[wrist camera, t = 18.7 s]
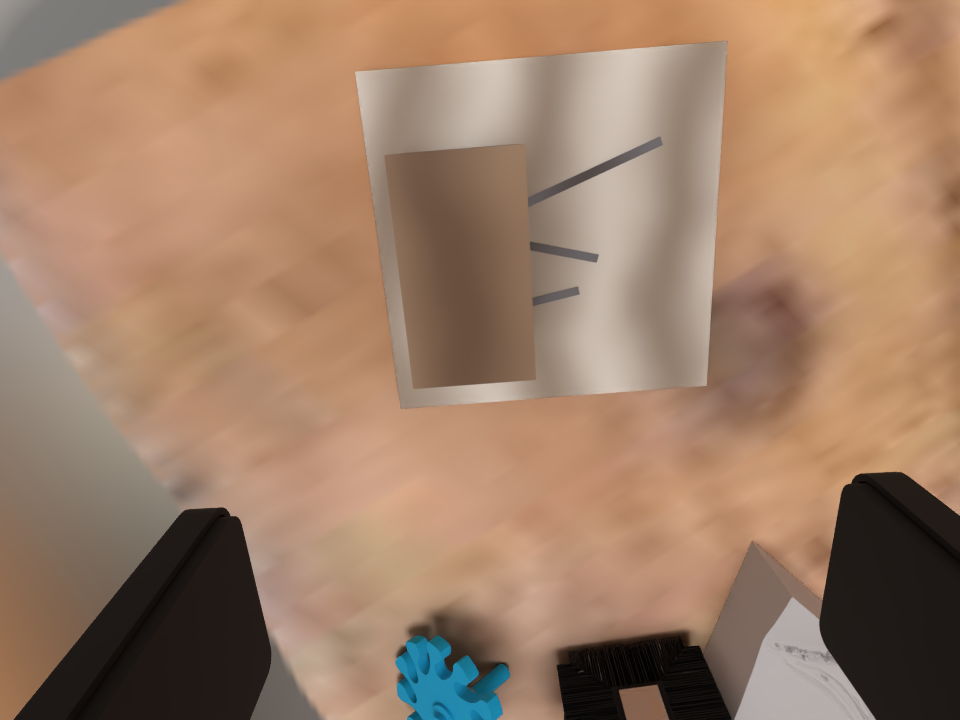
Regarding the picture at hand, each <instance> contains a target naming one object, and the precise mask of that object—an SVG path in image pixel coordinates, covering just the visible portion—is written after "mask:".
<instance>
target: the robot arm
mask: <svg viewBox="0 0 960 720" xmlns="http://www.w3.org/2000/svg"><path fill="white" fill-rule="evenodd" d="M819 628H820V633H821V637H822V640H823V642H824V644H825V646H826V648H827V650H828V651H829V652H830V654H831V655H832V657H833V658H834V660H835V661H836V663H837V664H838V665H839V667H840V668H841V670H842V671H843V673H844V674H845V676H846V677H847V678H848V680H849V681H850V683H851V684H852V686H853V687H854V689H855V690H856V691H857V693H858V694H859V696H860V697H861V699H862V700H863V702H864V703H865V704H866V706H867V707H868V709H869V710H870V712H871V713H872V715H873V716H874V718H875V719H876V720H960V516H959V515H958V514H957V513H955V512H954V511H953V510H951V509H950V508H949V507H948V506H946V505H945V504H944V503H942V502H941V501H940V500H938V499H937V498H936V497H935V496H933V495H932V494H931V493H929V492H928V491H927V490H925V489H924V488H923V487H922V486H920V485H919V484H918V483H916V482H915V481H914V480H912V479H911V478H910V477H909V476H907V475H905V474H903V473H902V472H884V473H865V474H859V475H857V476H855V478H854V479H853V480H852V483H851V484H848V485H845V487H844V488H843V490H842V493H841V498H840V504H839V510H838V516H837V521H836V527H835V533H834V539H833V544H832V550H831V556H830V562H829V567H828V573H827V579H826V585H825V590H824V596H823V602H822V608H821V613H820V619H819ZM270 664H271V647H270V642H269V638H268V634H267V629H266V625H265V621H264V617H263V612H262V608H261V604H260V600H259V596H258V591H257V587H256V583H255V579H254V574H253V570H252V566H251V562H250V557H249V553H248V549H247V545H246V540H245V536H244V532H243V528H242V524H241V521H240V519H239V518H238V517H236V516H230V513H229V512H228V511H227V509H225V508H223V507H222V508H203V509H188V510H185V511H183V512H182V513H181V514H180V515H179V516H178V518H177V519H176V520H175V521H174V523H173V524H172V525H171V526H170V528H169V529H168V530H167V531H166V532H165V534H164V535H163V536H162V538H161V539H160V540H159V541H158V542H157V544H156V545H155V546H154V547H153V549H152V550H151V551H150V552H149V554H148V555H147V556H146V557H145V558H144V560H143V561H142V562H141V563H140V564H139V566H138V567H137V568H136V569H135V571H134V572H133V573H132V574H131V576H130V577H129V578H128V579H127V581H126V582H125V583H124V584H123V585H122V587H121V588H120V589H119V590H118V592H117V593H116V594H115V595H114V597H113V598H112V599H111V600H110V602H109V603H108V604H107V605H106V606H105V608H104V609H103V610H102V611H101V613H100V614H99V615H98V616H97V617H96V619H95V620H94V621H93V623H92V624H91V625H90V626H89V627H88V629H87V630H86V631H85V632H84V634H83V635H82V636H81V637H80V638H79V640H78V641H77V642H76V643H75V645H74V646H73V647H72V648H71V650H70V651H69V652H68V653H67V655H66V656H65V657H64V658H63V660H62V661H61V662H60V663H59V664H58V666H57V667H56V668H55V669H54V670H53V672H52V673H51V674H50V675H49V677H48V678H47V679H46V680H45V682H44V683H43V684H42V685H41V687H40V688H39V689H38V690H37V691H36V693H35V694H34V695H33V696H32V698H31V699H30V700H29V701H28V703H27V704H26V705H25V707H23V709H22V710H21V711H20V713H19V714H18V715H17V716H16V717H15V719H14V720H250V718H251V716H252V713H253V711H254V708H255V706H256V703H257V701H258V698H259V696H260V693H261V691H262V688H263V686H264V683H265V680H266V678H267V676H268V673H269V669H270Z"/></svg>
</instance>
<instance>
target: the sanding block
mask: <svg viewBox="0 0 960 720" xmlns="http://www.w3.org/2000/svg"><path fill="white" fill-rule="evenodd" d="M384 157H385V166H386V174H387V182H388V190H389V198H390V206H391V214H392V222H393V230H394V238H395V246H396V254H397V262H398V270H399V279H400V287H401V295H402V303H403V311H404V319H405V327H406V335H407V343H408V351H409V359H410V367H411V375H412V384H413V389H422V388H436V387H449V386H462V385H475V384H489V383H502V382H515V381H529V380H536V368H535V346H534V324H533V302H532V280H531V258H530V237H529V215H528V193H527V171H526V149H525V144H511V145H498V146H486V147H473V148H461V149H448V150H436V151H423V152H411V153H400V154H391V155H384Z"/></svg>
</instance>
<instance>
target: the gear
mask: <svg viewBox="0 0 960 720" xmlns="http://www.w3.org/2000/svg"><path fill="white" fill-rule="evenodd" d="M406 648H407V650H408V651H406V652H405V653H403V654H402V655H401V656H399V657H398V658H397V660H396V662H395V663H396V666H397V668H398V669H399V670H400V672H401V673H402V674H403V675H404V676H405V678H404V679H402V680H401V681H400V682H398V684H397V693H398V696H399V698H400V699H401V700H402V701H403V702H406V703H408V704H410V705H411V706H412V707H413V708H414V709H415V710H416V711H415V712H414V713H412V714H411V715H410V716H409V717H407V720H496V719H497V718H499V717H500V716H501V715H502V714H503V712H502V707H501V704H500V701H499V699H498V696H497V695H496V694H495V693H494V692H493V691H494V690H496V689H497V688H498V687H499V686H500V685H501V684H502V683H504V682H505V681H506V680H507V679H508V678H509V677H510V673H509V670H508V668H507V667H506V666H505V665H504V664H499V665H498V666H497V667H496V668H494V669H493V670H492V671H491V672H489V673H488V674H487V675H486V676H485V677H483V678H482V679H481V680H480V681H479V682H477V683H476V684H475V685H474V686H472V687H469V686H466V685H468V684H469V683H470V682H471V681H473V680H474V679H475V678H476V677H478V675H479V672H478V670H477V668H476V666H475V665H474V663H473V662H472V660H471V659H470V658H469V656H467V655H466V656H464V657H463V658H461V659H460V660H459V661H457V662H456V663H455V664H454V665H453V672H451V671H449V670H448V668H447V667H446V665H445V662H444V658H446V657H447V656H448V655H450V653H451V646H450V644H449V643H448V642H447V641H446V640H445V639H443V638H442V637H441V636H439V635H437V636H436V637H434V638H433V639H431V640H430V641H429V642H428V641H427V639H426V638H425V637H424V636H419V635H418V636H415V637H413V638H412V639H410V640H409V641H407V642H406ZM428 654H429V658H430V662H429V659H428Z"/></svg>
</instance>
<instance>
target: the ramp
mask: <svg viewBox="0 0 960 720" xmlns="http://www.w3.org/2000/svg"><path fill="white" fill-rule="evenodd" d="M822 602H823V601H822V600H821V599H820V598H819V597H818V596H816V595H815V594H814V593H813V592H811V591H810V590H809V589H808V588H807V587H806V586H804V585H803V584H802V583H801V582H800V581H799V580H798V579H796V578H795V577H794V576H793V575H792V574H791V573H790V572H789V571H788V570H786V569H785V568H784V567H783V566H782V565H781V564H780V563H778V562H777V561H776V560H775V559H774V558H773V557H771V556H770V555H769V554H768V553H767V552H765V551H764V550H763V549H762V548H761V547H760V546H759V545H758V544H756V543H755V542H754V541H752V543H751V545H750V547H749V549H748V552H747V554H746V556H745V558H744V561H743V563H742V566H741V569H740V570H739V573H738V575H737V577H736V579H735V582H734V584H733V586H732V588H731V591H730V594H729V596H728V598H727V600H726V603H725V605H724V608H723V610H722V612H721V615H720V617H719V619H718V621H717V624H716V627H715V629H714V631H713V633H712V636H711V638H710V640H709V643H708V645H707V647H706V650H705V652H704V657H705V660H706V663H707V665H708V667H709V669H710V671H711V673H712V675H713V677H714V680H715V682H716V685H717V688H719V692H720V693H721V695H722V699H723V700H724V703H725V705H726V707H727V709H728V712H729V713H730V715H731V720H876V719H875V718H874V716H873V715H872V713H871V712H870V710H869V709H868V707H867V706H866V704H865V703H864V702H863V700H862V699H861V697H860V696H859V694H858V693H857V691H856V690H855V689H854V687H853V686H852V684H851V683H850V681H849V680H848V678H847V677H846V676H845V674H844V673H843V671H842V670H841V668H840V667H839V665H838V664H837V663H836V661H835V660H834V658H833V657H832V655H831V654H830V652H829V651H828V650H827V648H826V646H825V644H824V642H823V640H822V637H821V633H820V628H819V619H820V613H821V608H822Z"/></svg>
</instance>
